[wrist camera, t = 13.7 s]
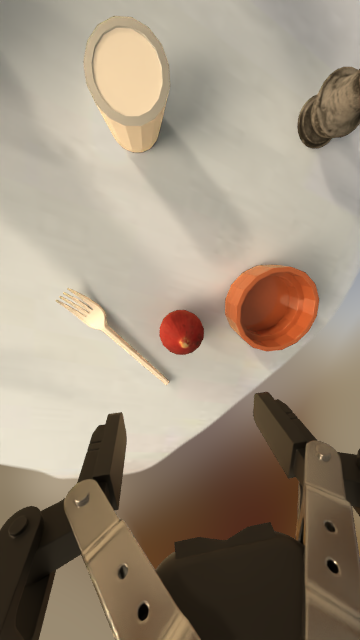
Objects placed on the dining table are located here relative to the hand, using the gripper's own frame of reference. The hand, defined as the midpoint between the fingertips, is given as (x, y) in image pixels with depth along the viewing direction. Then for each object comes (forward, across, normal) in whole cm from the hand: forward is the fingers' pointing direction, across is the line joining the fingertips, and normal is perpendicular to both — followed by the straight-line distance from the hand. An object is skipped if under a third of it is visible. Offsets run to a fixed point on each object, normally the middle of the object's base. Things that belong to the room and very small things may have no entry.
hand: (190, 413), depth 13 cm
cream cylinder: (+20, +2, -23) cm, 30 cm away
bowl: (+20, -14, -1) cm, 24 cm away
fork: (+20, +7, +3) cm, 21 cm away
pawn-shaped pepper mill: (+20, -20, -22) cm, 36 cm away
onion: (+20, -2, +1) cm, 20 cm away
